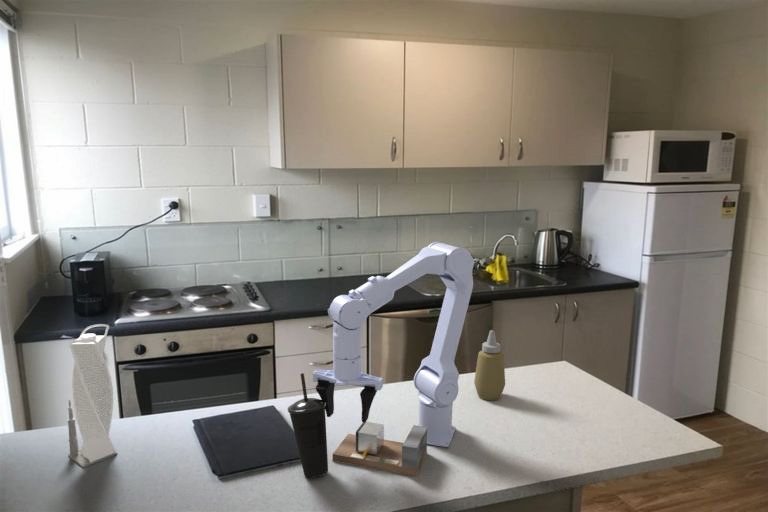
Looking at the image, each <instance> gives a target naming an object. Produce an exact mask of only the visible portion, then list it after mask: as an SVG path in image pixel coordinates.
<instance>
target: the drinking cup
mask: <svg viewBox="0 0 768 512" xmlns="http://www.w3.org/2000/svg"><path fill="white" fill-rule="evenodd" d="M300 381H301V387H302V394H303V398H302V399H298V400H296V401H295V402H294V403H292V404H290V405H289V406H288V407H287V413H289V417H290V421H291V424H292V429H293V433H294V437H295V441H296V446H297V450H298V454H299V459H300V462H301V467H302V470H303V472H302V473H303V475H304V476H305V477H306V478H316V477H321V476H323V475H325V474H327V473H328V472H329V463H328V462H329V461H328V441H327V422H326V420H327V419H326V410H325V406H326V402H325V401H324V400H322V399H321V398H318V397H317V398H316V397H308V394H307V393H308V392H307V386H306V380H305V373H300Z"/></svg>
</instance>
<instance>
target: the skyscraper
mask: <svg viewBox="0 0 768 512" xmlns="http://www.w3.org/2000/svg"><path fill="white" fill-rule="evenodd" d="M95 327H96V328H97V327H104V328H105V327H106V328H105V332H104V335H97V334H96V333H91V332H89V333H86V332H87V331H88V330H90V329H92V328H95ZM109 329H110V325H109V324H104V323H96V324H91V325H89V326H86V328H84V329H83V330H82V331H81V333H80V335H79V337H78V338H77V339H75V340H72V341H70V342H69V344H68V345H69V348H70V351H71V352H70V353H71V355H72V357H73V361H74V363H73V371H72V385H71V386H72V387H71V388H72V401H73V406H74V407H73V406H72V404H71V399H68V407H67V409H68V410H67V411H68V418H67V424H68V425H67V427H68V442H69V454H67V455H68V458H70V459H71V460H73V461H74V462H75V463H77V465H79V466H80V467H81V468H83V469H85V468H86V467H88V466H92V465H94V464H96V463H99V462H101V461H104V460H107V459H109V458H111V457H114V456H115V455H116V456H117V455H118V452H117V449H116V447H115V446H114V444H113V441H112V440H111V438H110V429H111V426H112V419H113V410H114V387H113V381H112V377H111V373H110V370H109V367H108V364H107V362H106V360H105V357H104V352H105V347H106V341H107V335H108V332H109ZM73 408H74V410H73ZM73 411H74V412H75V417H74V413H73ZM76 422H77V425H78V430H79V434H80V436H81V440H82V444H81V448H79V443H78V442H79V441H78V439H79V437H78V434H77V428H76V427H77V425H76Z"/></svg>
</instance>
